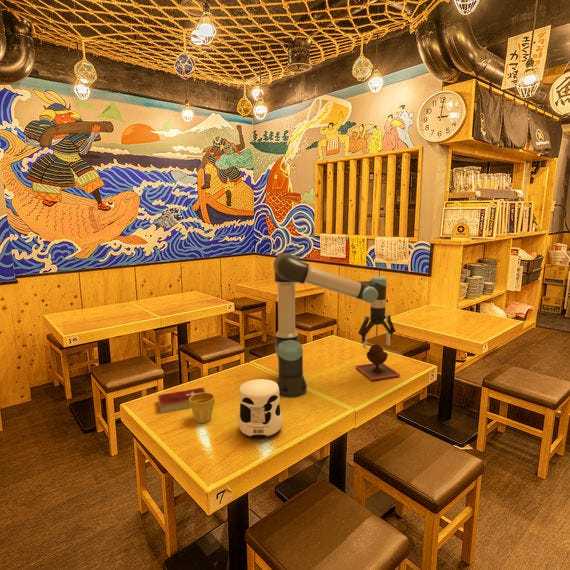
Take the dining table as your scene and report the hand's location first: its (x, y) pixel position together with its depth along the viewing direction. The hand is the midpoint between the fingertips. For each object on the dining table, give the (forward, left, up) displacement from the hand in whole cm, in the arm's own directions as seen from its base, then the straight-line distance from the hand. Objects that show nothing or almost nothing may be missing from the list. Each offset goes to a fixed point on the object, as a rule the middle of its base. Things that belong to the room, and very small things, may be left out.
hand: (376, 346), depth 206 cm
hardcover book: (-99, -1, -15) cm, 100 cm away
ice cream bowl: (+1, 0, -14) cm, 14 cm away
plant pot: (-92, -19, -15) cm, 95 cm away
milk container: (-71, -35, -15) cm, 80 cm away
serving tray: (0, 0, -15) cm, 15 cm away
